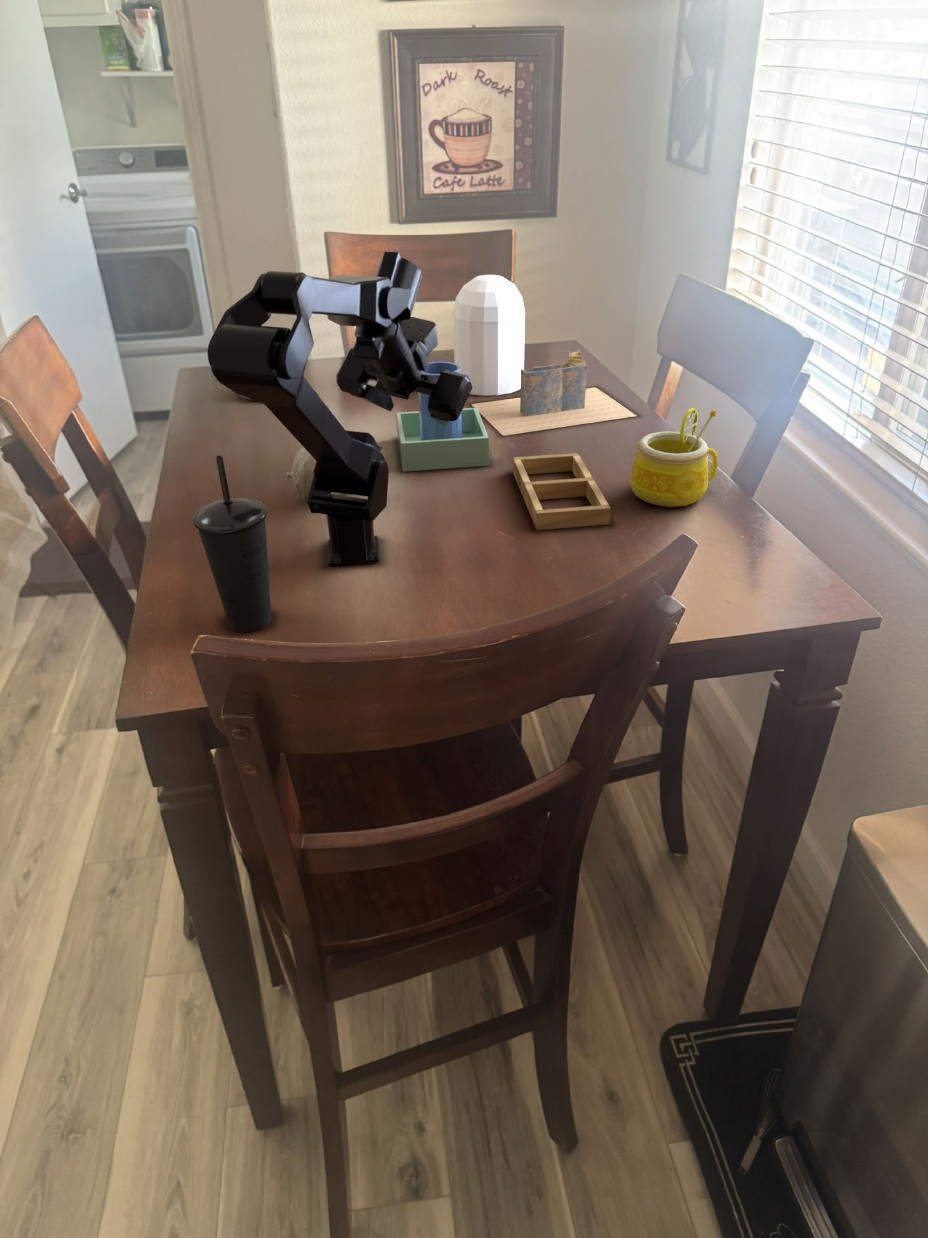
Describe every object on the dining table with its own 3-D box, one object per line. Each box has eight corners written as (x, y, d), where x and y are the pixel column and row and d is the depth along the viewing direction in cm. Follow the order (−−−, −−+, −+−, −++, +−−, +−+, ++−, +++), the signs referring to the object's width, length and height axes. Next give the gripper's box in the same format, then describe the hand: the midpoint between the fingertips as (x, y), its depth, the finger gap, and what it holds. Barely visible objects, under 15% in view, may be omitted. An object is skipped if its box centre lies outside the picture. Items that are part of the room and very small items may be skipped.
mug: (649, 517, 117) (659, 434, 111) (617, 485, 126) (623, 406, 119) (733, 504, 120) (747, 422, 113) (695, 474, 129) (706, 396, 122)
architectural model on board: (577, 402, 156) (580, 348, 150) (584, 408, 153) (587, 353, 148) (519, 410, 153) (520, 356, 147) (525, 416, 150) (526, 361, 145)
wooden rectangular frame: (609, 524, 116) (610, 507, 114) (536, 530, 115) (537, 513, 114) (576, 468, 132) (577, 452, 130) (512, 472, 131) (512, 457, 129)
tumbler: (470, 448, 137) (469, 367, 130) (440, 460, 134) (437, 377, 126) (443, 437, 141) (440, 358, 134) (412, 448, 138) (408, 368, 130)
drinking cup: (255, 595, 102) (226, 436, 91) (297, 617, 98) (272, 453, 87) (202, 624, 98) (164, 459, 86) (244, 647, 93) (211, 478, 82)
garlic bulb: (356, 507, 127) (375, 446, 122) (329, 523, 120) (348, 459, 115) (302, 480, 129) (318, 419, 124) (272, 494, 121) (288, 430, 116)
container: (536, 379, 167) (539, 270, 156) (502, 400, 157) (502, 286, 146) (477, 369, 173) (476, 264, 162) (441, 388, 164) (437, 278, 152)
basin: (489, 465, 133) (488, 437, 130) (402, 471, 132) (401, 443, 129) (477, 433, 144) (477, 407, 141) (397, 439, 143) (396, 412, 140)
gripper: (476, 314, 110) (497, 384, 124) (352, 286, 115) (386, 356, 130) (442, 387, 107) (467, 449, 122) (316, 354, 113) (355, 418, 127)
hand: (418, 415), depth 125 cm, fingers open, 9 cm apart
